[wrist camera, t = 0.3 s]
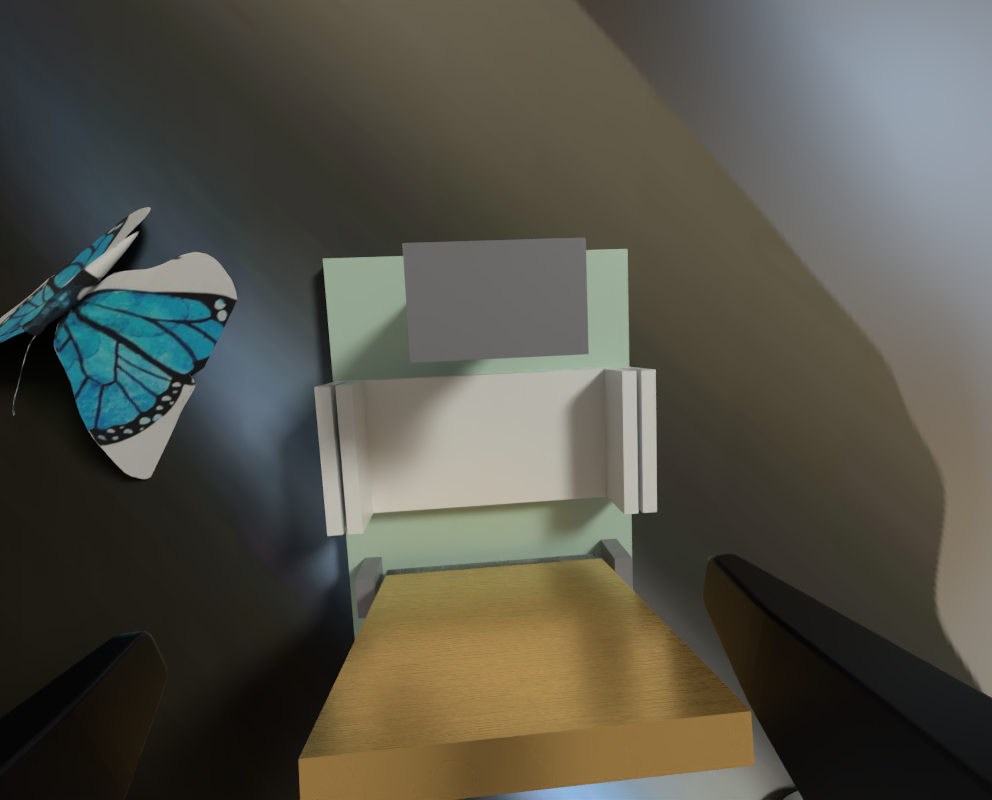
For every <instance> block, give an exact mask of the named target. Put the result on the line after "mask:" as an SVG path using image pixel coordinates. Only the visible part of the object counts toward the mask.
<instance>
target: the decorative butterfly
mask: <svg viewBox="0 0 992 800" xmlns="http://www.w3.org/2000/svg"><path fill="white" fill-rule="evenodd" d="M150 210H151V209H150V207H147V208H142V209H140V210H137V211H135V212H134V213H132V214H130V215H128V216H127V217H126V218H124V219H123V220H122V221H121V222H119V223H118V224H117V225H116V226H114V227H113V228H112V229H110V230H109V231H108V232H107V233H105V234H104V235H103V236H102V237H101V238H99V239H98V240H97V241H96V242H94V243H93V244H92V245H91V246H89V247H88V248H87V249H86V250H84V251H83V252H82V253H81V254H80V255H78V256H77V257H76V258H75V259H74V260H72V261H71V262H70V263H69V264H68V265H67V266H66V267H65V268H64V269H63V270H62V271H61V272H60V273H59V274H58V275H54V276H52V277H50V278H49V279H48V280H46V281H45V282H44V283H43V284H42V285H41V286H40V287H39V288H38V289H37V290H36V291H34V292H33V293H32V294H31V295H30V296H29V297H27V298H26V299H25V300H24V301H23V302H21V303H20V304H19V305H17V306H16V307H15V308H13V309H12V310H11V311H9V312H8V313H7V314H5V315H4V316H3V317H1V318H0V343H2V342H4V341H5V340H7V339H9V338H11V337H13V336H15V335H17V334H20V333H22V332H25V331H26V332H27V333H29V334H31V335H33V336H34V338H35V337H36V336H39V335H40V334H41V333H42V332H43V330H44V329H45V327H46V326H47V325H48V324H49V323H50V322H52V321H53V320H55V319H57V318H58V317H60V316H62V315H63V316H62V317H61V319H60V321H59V323H58V326H57V329H56V332H55V336H54V348H55V351H56V353H57V355H58V357H59V359H60V361H61V363H62V365H63V367H64V369H65V371H66V373H67V375H68V377H69V380H70V383H71V386H72V390H73V393H74V397H75V401H76V404H77V407H78V410H79V413H80V415H81V417H82V419H83V421H84V423H85V426H86V428H87V429H88V431H89V432H90V434H91V436H92V437H93V438H94V440H95V441H96V442H97V444H98V445H99V446H100V447H101V448H102V449H103V450H104V452H105V453H106V454H107V455H108V456H109V457H110V458H111V460H112V461H113V462H114V463H115V464H116V465H117V466H118V467H119V468H120V469H121V470H122V471H123V472H124V473H126V474H128V475H130V476H131V477H135V478H139V479H148V478H150V477H151V475H152V473H153V471H154V469H155V467H156V465H157V463H158V461H159V459H160V457H161V455H162V452H163V450H164V448H165V446H166V444H167V442H168V440H169V438H170V436H171V433H172V431H173V429H174V427H175V425H176V422H177V420H178V418H179V415H180V413H181V411H182V409H183V407H184V406H185V404H186V402H187V400H188V399H189V397H190V396H191V394H192V392H193V390H194V388H195V382H194V379H193V378H192V377H191V376H190V374H192V373H193V372H196V371H198V370H200V369H202V368H204V366H205V364H206V362H207V360H208V358H209V356H210V354H211V352H212V350H213V348H214V346H215V344H216V342H217V340H218V338H219V336H220V334H221V332H222V330H223V328H224V326H225V324H226V322H227V320H228V318H229V316H230V314H231V312H232V310H233V308H234V305H235V303H236V301H237V295H236V290H235V287H234V285H233V282H232V280H231V278H230V277H229V275H228V274H227V273H226V271H225V270H224V269H223V267H222V266H221V265H220V264H219V263H218V262H217V261H216V259H215V258H213V257H211V256H209V255H207V254H205V253H199V252H193V253H188V254H183V255H181V256H179V257H177V258H174V259H172V260H170V261H168V262H166V263H164V264H162V265H159V266H156V267H153V268H149V269H143V270H129V271H121V272H116V273H113V274H111V275H110V276H108V277H107V278H105V279H104V280H102V281H101V282H100V283H98V282H99V281H100V280H101V279H102V278H103V277H104V275H105V274H106V273H107V272H108V271H109V270H110V269H111V268H112V266H113V265H114V264H115V263H116V262H117V261H118V259H119V258H120V257H121V256H122V255H123V254H124V252H125V251H126V250H127V249H128V247H129V246H130V245H131V243H132V242H133V241H134V239H135V238H136V236H137V235H138V233H139V231H138V232H136V233H134V234H132V235H130V236H129V237H127V238H125V237H126V236H127V235H128V234H129V233H130V232H131V231H133V230H134V229H135V228H136V227H137V226H138V225H139V224H140V223H141V221H142V220H143V219H144V218H145V217H146V216H147V215H148V213H149V212H150ZM97 283H98V284H97ZM96 284H97V285H96ZM95 285H96V286H95ZM34 338H33V339H34ZM33 339H32V340H31V342H32V341H33ZM31 342H30V343H29V345H28V348H27V351H26V354H25V358H24V361H23V364H22V368H21V373H20V377H19V381H18V386H17V390H16V393H15V397H14V401H13V415H14V416H16V411H15V408H14V403H15V398H16V394H17V391H18V387H19V383H20V378H21V374H22V369H23V365H24V362H25V359H26V355H27V352H28V349H29V346H30V344H31Z"/></svg>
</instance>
